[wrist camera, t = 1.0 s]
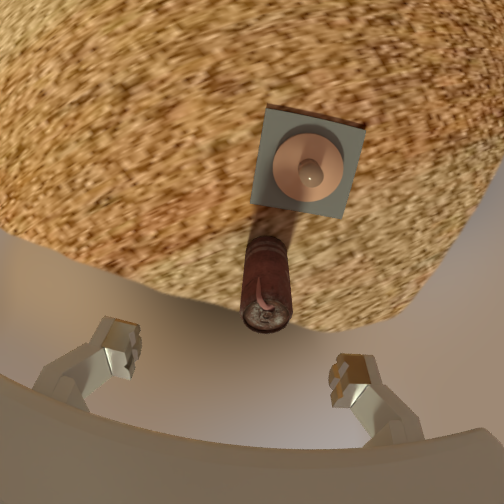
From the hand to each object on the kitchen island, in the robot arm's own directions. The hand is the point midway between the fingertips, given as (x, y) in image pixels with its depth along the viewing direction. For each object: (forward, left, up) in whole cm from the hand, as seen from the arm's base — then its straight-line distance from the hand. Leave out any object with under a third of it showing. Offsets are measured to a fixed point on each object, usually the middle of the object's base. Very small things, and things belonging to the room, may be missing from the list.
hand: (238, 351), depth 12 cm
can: (+14, +4, -31) cm, 35 cm away
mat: (0, +7, -31) cm, 32 cm away
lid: (0, +7, -31) cm, 31 cm away
